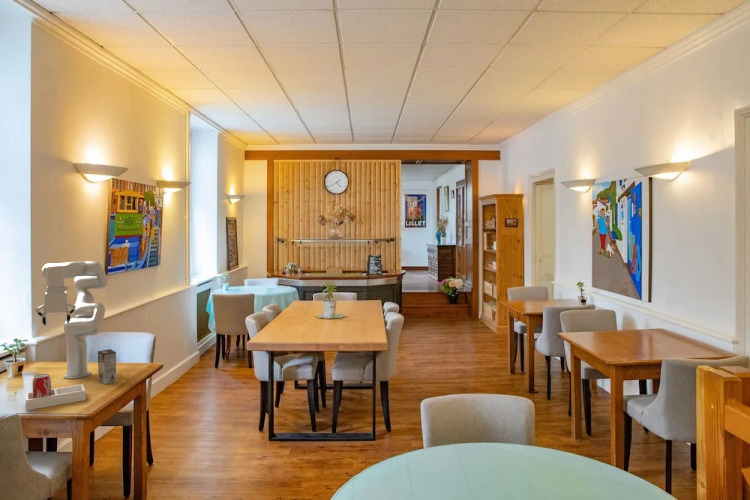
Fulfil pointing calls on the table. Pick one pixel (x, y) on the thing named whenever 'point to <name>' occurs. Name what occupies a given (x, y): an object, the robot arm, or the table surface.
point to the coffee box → (107, 366)
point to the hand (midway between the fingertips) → (56, 323)
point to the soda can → (41, 386)
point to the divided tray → (57, 397)
